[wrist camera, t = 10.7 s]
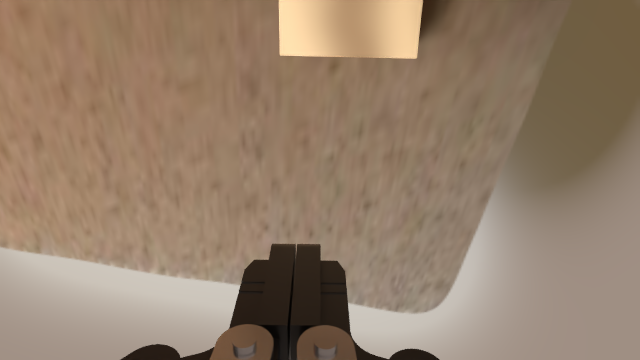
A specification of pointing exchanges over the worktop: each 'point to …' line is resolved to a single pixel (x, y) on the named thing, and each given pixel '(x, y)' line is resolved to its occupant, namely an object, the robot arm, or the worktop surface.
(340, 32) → the block
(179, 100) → the worktop surface
